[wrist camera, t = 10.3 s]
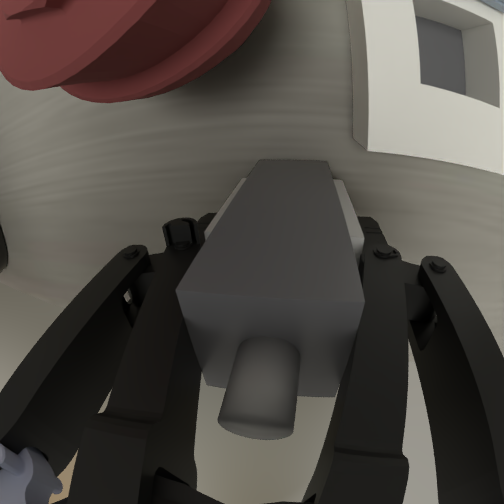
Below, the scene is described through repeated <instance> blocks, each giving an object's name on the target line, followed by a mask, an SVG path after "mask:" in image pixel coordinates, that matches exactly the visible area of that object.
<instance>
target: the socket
mask: <svg viewBox="0 0 504 504" xmlns="http://www.w3.org/2000/svg"><path fill="white" fill-rule="evenodd" d="M346 6H347V14H348V23H349V33H350V44H351V59H352V81H353V139H355V140H356V141H357V142H358V143H359V144H360V145H361V146H363V147H364V148H365V149H366V150H367V151H374V152H383V153H392V154H400V155H408V156H415V157H422V158H428V159H434V160H440V161H445V162H451V163H456V164H461V165H465V166H470V167H474V168H479V169H483V170H487V171H491V172H495V173H499V174H502V175H504V13H503V12H501V11H499V10H498V9H496V8H494V7H492V6H490V5H488V4H487V3H485V2H483V1H481V0H346Z"/></svg>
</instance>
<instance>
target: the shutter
mask: <svg viewBox="0 0 504 504" xmlns="http://www.w3.org/2000/svg"><path fill="white" fill-rule="evenodd" d="M481 1H483V2H485V3H487V4H488V5H490V6H492V7H494V8H496V9H498V10H499V11H501V12H503V13H504V0H481Z"/></svg>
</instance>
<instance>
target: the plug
mask: <svg viewBox="0 0 504 504" xmlns="http://www.w3.org/2000/svg"><path fill="white" fill-rule="evenodd" d="M176 293H177V297H178V300H179V304H180V307H181V310H182V314H183V317H184V320H185V323H186V326H187V329H188V333H189V336H190V339H191V342H192V345H193V348H194V351H195V353H196V356H197V359H198V362H199V365H200V368H201V370H202V373H203V375H204V379H205V381H206V384H207V385H209V386H215V387H220V388H226V392H225V395H224V399H223V402H222V406H221V410H220V413H219V416H218V423H219V424H220V425H221V426H222V427H223V428H225V429H226V430H228V431H230V432H232V433H234V434H237V435H240V436H244V437H248V438H252V439H260V440H261V439H262V440H275V439H282V438H285V437H288V436H290V435H291V434H292V433H293V429H294V421H295V412H296V403H297V396H308V397H309V396H310V397H335V395H336V392H337V390H338V387H339V384H340V382H341V379H342V376H343V373H344V370H345V368H346V365H347V362H348V359H349V356H350V352H351V349H352V346H353V343H354V340H355V336H356V333H357V330H358V326H359V323H360V319H361V315H362V312H363V308H364V304H365V299H364V294H363V289H362V284H361V280H360V275H359V271H358V267H357V262H356V258H355V254H354V250H353V246H352V242H351V238H350V235H349V231H348V227H347V224H346V220H345V217H344V213H343V210H342V206H341V203H340V200H339V196H338V193H337V190H336V187H335V184H334V181H333V177H332V174H331V171H330V168H329V166H328V163H327V161H317V160H259V161H258V163H257V164H256V165H255V167H254V168H253V170H252V171H251V173H250V174H249V176H248V177H247V179H246V180H245V182H244V183H243V185H242V186H241V187H240V189H239V190H238V192H237V193H236V195H235V196H234V198H233V199H232V201H231V202H230V204H229V206H228V207H227V209H226V210H225V212H224V213H223V215H222V216H221V218H220V219H219V221H218V222H217V224H216V225H215V227H214V229H213V230H212V232H211V233H210V235H209V236H208V238H207V240H206V241H205V243H204V244H203V246H202V247H201V249H200V251H199V252H198V254H197V255H196V257H195V259H194V260H193V262H192V264H191V265H190V267H189V268H188V270H187V272H186V273H185V275H184V277H183V278H182V280H181V282H180V283H179V285H178V287H177V288H176Z"/></svg>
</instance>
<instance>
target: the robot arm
mask: <svg viewBox="0 0 504 504" xmlns="http://www.w3.org/2000/svg"><path fill="white" fill-rule="evenodd" d="M246 179H247V178H242V179H241V181H240V182H239V183H238V185H237V186H236V187H235V189H234V190H233V192H232V193H231V194H230V196H229V197H228V199H227V200H226V201H225V203H224V204H223V206H222V207H221V209H220V210H219V211H218V213H208V214H206V215H204V216H203V217H201V218H200V219H199V221H198V222H197V221H196V220H195V219H193V218H178V219H174V220H171V221H169V222H167V223H166V224H164V226H163V227H162V228H163V233H164V237H165V241H166V246H167V247H166V249H165V251H164V253H158V254H152V255H149V254H148V250H147V248H146V247H145V246H143V245H132V246H128V247H127V248H124V249H123V250H121V251H120V252H119V253H118V254H117V255H116V256H115V257H114V258H113V259H112V260H111V261H110V262H109V263H108V264H107V265H106V266H105V267H104V268H103V269H102V270H101V271H100V272H99V273H98V274H97V275H96V276H95V277H94V278H93V279H92V280H91V281H90V282H89V283H88V284H87V285H86V286H85V287H84V288H83V289H82V291H81V292H80V293H79V294H78V295H77V296H76V297H75V298H74V299H73V300H72V301H71V303H70V304H69V305H68V306H67V307H66V308H65V309H64V311H63V312H62V313H61V314H60V315H59V316H58V317H57V319H56V320H55V321H54V322H53V323H52V325H51V326H50V327H49V328H48V329H47V330H46V332H45V333H44V334H43V335H42V337H41V338H40V339H39V341H38V342H37V343H36V344H35V345H34V347H33V348H32V349H31V351H30V352H29V353H28V354H27V356H26V357H25V358H24V360H23V361H22V362H21V364H20V365H19V366H18V368H17V369H16V371H15V372H14V374H13V375H12V376H11V378H10V379H9V381H8V382H7V383H6V385H5V386H4V388H3V389H2V391H1V392H0V504H48V502H49V498H50V496H51V494H52V493H54V494H59V493H61V492H62V489H63V486H62V483H61V481H60V480H59V479H58V478H57V476H58V475H59V474H60V473H61V472H62V471H63V470H64V469H65V468H66V467H67V465H68V464H69V462H70V461H71V460H72V458H73V457H74V455H75V453H76V452H77V450H78V453H77V457H76V462H75V466H74V470H73V475H72V481H71V485H70V490H69V496H68V497H67V498H65V499H62V500H60V501H57V502H55V503H52V504H224V503H221V502H219V501H216V500H215V499H213V498H211V497H209V496H207V495H204V494H202V493H200V492H198V491H197V490H196V488H197V469H196V464H195V460H194V445H195V433H196V421H197V410H198V400H199V391H200V380H201V372H202V370H201V368H200V365H199V362H198V359H197V356H196V353H195V351H194V348H193V345H192V342H191V339H190V336H189V333H188V329H187V326H186V323H185V320H184V317H183V314H182V310H181V307H180V304H179V300H178V297H177V293H176V288H177V287H178V285H179V283H180V282H181V280H182V278H183V277H184V275H185V273H186V272H187V270H188V268H189V267H190V265H191V264H192V262H193V260H194V259H195V257H196V255H197V254H198V252H199V251H200V249H201V247H202V246H203V244H204V243H205V241H206V240H207V238H208V236H209V235H210V233H211V232H212V230H213V229H214V227H215V225H216V224H217V222H218V221H219V219H220V218H221V216H222V215H223V213H224V212H225V210H226V209H227V207H228V206H229V204H230V202H231V201H232V199H233V198H234V196H235V195H236V193H237V192H238V190H239V189H240V187H241V186H242V185H243V183H244V182H245V180H246ZM333 181H334V184H335V187H336V190H337V193H338V196H339V200H340V203H341V206H342V210H343V213H344V217H345V220H346V224H347V227H348V231H349V235H350V238H351V242H352V246H353V250H354V254H355V258H356V262H357V267H358V271H359V275H360V280H361V284H362V289H363V294H364V299H365V304H364V308H363V312H362V315H361V319H360V323H359V326H358V330H357V333H356V336H355V340H354V343H353V346H352V349H351V352H350V356H349V359H348V362H347V365H346V368H345V370H344V373H343V376H342V379H341V382H340V386H339V390H338V394H337V398H336V402H335V407H334V410H333V414H332V417H331V421H330V425H329V428H328V432H327V435H326V438H325V442H324V445H323V448H322V451H321V454H320V458H319V460H318V463H317V466H316V469H315V472H314V474H313V476H312V479H311V481H310V483H309V485H308V488H307V490H306V493H305V495H304V497H303V500H302V502H275V503H267V504H402V503H403V499H404V495H405V490H406V486H407V481H408V474H409V463H408V459H407V458H406V457H405V456H404V455H403V452H402V444H403V436H404V428H405V419H406V407H407V391H408V339H409V342H410V346H411V349H412V353H413V356H414V360H415V363H416V366H417V371H418V374H419V378H420V382H421V386H422V390H423V395H424V399H425V404H426V409H427V414H428V419H429V424H430V430H431V435H432V442H433V449H434V457H435V465H436V475H437V488H438V500H439V504H504V357H503V355H502V353H501V351H500V348H499V346H498V344H497V342H496V340H495V338H494V336H493V334H492V332H491V330H490V328H489V326H488V324H487V323H486V321H485V319H484V317H483V315H482V313H481V312H480V310H479V308H478V306H477V305H476V303H475V301H474V300H473V298H472V296H471V295H470V293H469V291H468V290H467V288H466V286H465V285H464V283H463V282H462V280H461V279H460V277H459V276H458V274H457V273H456V271H455V270H454V268H453V267H452V265H451V264H450V263H449V262H447V261H446V260H444V259H443V258H441V257H438V256H426V257H424V258H423V259H422V262H421V265H420V266H419V265H415V264H411V263H407V262H404V261H402V260H401V255H400V253H399V251H397V250H396V249H395V248H393V247H391V246H389V245H388V244H387V242H386V240H385V237H384V235H383V234H382V231H381V229H380V227H379V225H378V223H377V222H376V221H375V220H374V219H372V218H371V217H359V216H356V213H355V211H354V208H353V205H352V203H351V200H350V198H349V195H348V193H347V190H346V188H345V185H344V183H343V181H342V180H336V179H333ZM6 266H7V250H6V245H5V241H4V238H3V235H2V231H1V228H0V272H1V271H2V270H3V269H4V268H5V267H6ZM127 291H128V293H129V296H130V298H131V299H130V300H129V301H128V302H126V301H125V298H124V294H125V293H126V292H127ZM436 315H437V316H436ZM112 387H113V388H112ZM111 389H112V391H111ZM110 391H111V394H110V398H109V401H108V405H107V407H106V409H105V411H104V412H103V413H98V412H99V410H100V408H101V406H102V405H103V403H104V401H105V399H106V397H107V396H108V394H109V392H110ZM97 413H98V414H97ZM78 448H79V449H78Z"/></svg>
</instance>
